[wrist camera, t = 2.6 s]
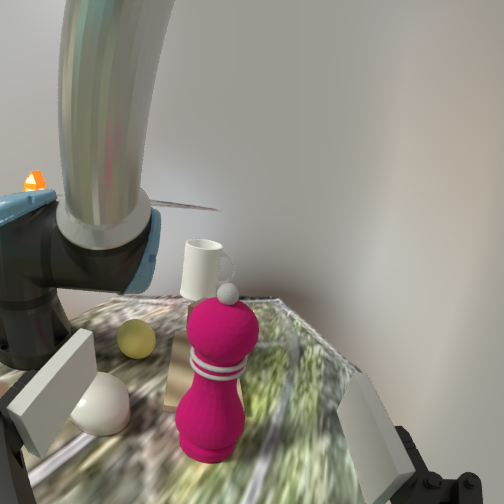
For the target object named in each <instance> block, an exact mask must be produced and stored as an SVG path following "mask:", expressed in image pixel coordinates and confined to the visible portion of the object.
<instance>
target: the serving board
mask: <svg viewBox="0 0 504 504" xmlns="http://www.w3.org/2000/svg"><path fill="white" fill-rule="evenodd" d="M191 347H192V345H191V344H190V342H189V340H188V337H187V332H181V331H175V333H174V339H173V345H172V351H171V357H170V364H169V371H168V377H167V385H166V392H165V399H164V411H167V412H175V413H176V409H177V406H178V404H179V402H180V400H181V399H182V397H183V396H184V395H185V394H186V392H187V391H188V390H189V389H190V387H191V386H192V383H193V378H194V369H193V368H192V367H191V364H190V356H191V353H190V351H191ZM237 392H238V395H239V398H240V400H241V403H242V406H243V409H244V413H245V408H244V402H243V397H242V391H241V385H240V379H239V377H238V379H237Z"/></svg>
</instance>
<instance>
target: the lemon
mask: <svg viewBox="0 0 504 504" xmlns="http://www.w3.org/2000/svg"><path fill="white" fill-rule="evenodd" d="M117 343H118V346H119V348H120V350H121V351H122V352H123V353H124V354H125V355H126V356H128V357H130V358H133V359H141V358H145V357H147V356H148V355H149V354H150V353H151V352H152V351H153V349H154V347H155V344H156V337H155V333H154V331H153V329H152V328H151V326H150V325H149V324H147V323H146V322H144V321H142V320H138V319H132V320H128V321H126V322H125V323H123V324H122V325H121V327H120V328H119V330H118V333H117Z"/></svg>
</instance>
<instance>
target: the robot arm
mask: <svg viewBox="0 0 504 504" xmlns="http://www.w3.org/2000/svg"><path fill="white" fill-rule="evenodd" d="M174 1H175V0H66V5H65V11H64V18H63V25H62V33H61V42H60V54H59V70H58V125H59V126H58V127H59V145H60V157H61V167H62V176H63V184H64V192H65V194H64V195H63V196H62V198H61V200H60V201H59V202H57V201H56V199H57V196H56V192H55V191H54V190H52V189H51V190H46V189H44V190H33V191H26V192H20V193H14V194H10V195H5V196H1V197H0V361H1V362H2V363H4V364H5V365H7V366H10V367H13V368H17V369H26V370H29V369H32V370H30V371H28V372H26V373H24V374H23V375H22V376H21V377H20V378H19V379H18V381H16V382H15V383H14V385H13V387H11V388H10V389H9V390H8V391H7V392H6V393H5V394H4V395H3V396H2V398H1V399H0V504H36V501H35V498H34V495H33V491H32V488H31V485H30V481H29V478H28V474H27V470H26V466H25V462H24V457H23V453H22V451H21V447H22V446H23V444H24V445H25V447H26V449H27V450H28V452H30V453H31V454H33V455H35V456H37V457H39V458H41V459H43V457H44V456H45V454H46V453H47V451H48V449H49V448H50V446H51V444H52V443H53V441H54V440H55V438H56V436H57V435H58V433H59V432H60V430H61V428H62V427H63V425H64V424H65V422H66V421H67V419H68V418H69V416H70V415H71V413H72V411H73V410H74V408H75V407H76V405H77V404H78V402H79V401H80V399H81V398H82V396H83V395H84V393H85V392H86V390H87V389H88V387H89V386H90V385H91V383H92V382H93V380H94V379H95V377H96V376H97V374H98V372H97V364H96V357H95V348H94V338H93V332H92V331H88V330H85V329H82V328H80V329H79V330H78V331H77V332H76V333H75V334H74V335H73V336H72V331H71V326H70V323H69V320H68V319H67V316H66V314H65V312H64V309H63V307H62V305H61V303H60V300H59V298H58V295H57V288H62V289H73V290H83V291H95V292H107V293H117V294H118V295H124V294H140V293H143V292H145V291H146V290H147V289H148V287H149V286H150V283H151V281H152V278H153V274H154V270H155V264H156V256H157V252H158V248H159V240H160V231H161V215H160V212H159V211H158V210H156V209H153V208H152V207H151V206H150V201H149V198H148V196H147V194H146V193H145V192H144V190H143V189H142V188H141V187H140V182H141V181H140V180H141V171H142V162H143V153H144V145H145V137H146V130H147V123H148V117H149V110H150V104H151V99H152V93H153V88H154V82H155V77H156V72H157V67H158V63H159V58H160V54H161V50H162V46H163V41H164V37H165V33H166V29H167V25H168V22H169V18H170V15H171V11H172V8H173V4H174ZM39 368H42V369H41V370H40V371H39V372H38V371H36V370H34V369H39ZM337 414H338V417H339V420H340V423H341V426H342V429H343V433H344V436H345V439H346V442H347V445H348V448H349V451H350V454H351V458H352V461H353V464H354V467H355V470H356V474H357V477H358V480H359V483H360V487H361V490H362V493H363V497H364V500H365V503H366V504H385V503H386V502H387V501H388V500H389V499H390V501H391V504H483V497H482V485H481V480H480V479H479V477H478V476H477V475H475V474H474V473H471V472H465V473H464V474H462V475H461V476H460V477H459V478H458V479H457V480H452V479H451V480H450V479H446V480H445V479H442V477H441V476H440V475H439V474H436V473H435V472H430V471H428V469H427V467H426V465H425V463H424V461H423V459H422V457H421V455H420V453H419V451H418V449H416V446H415V444H414V442H413V440H412V438H411V436H410V434H409V432H407V431H406V430H405V429H404V428H403V427H402V426H394V425H393V423H392V422H391V419H390V418H389V416H388V414H387V412H386V410H385V408H384V406H383V404H382V402H381V400H380V398H379V396H378V394H377V392H376V390H375V389H374V387H373V385H372V383H371V381H370V379H369V377H368V375H367V373H353V374H352V377H351V379H350V381H349V384H348V386H347V388H346V391H345V393H344V395H343V398H342V400H341V402H340V404H339V406H338V409H337Z"/></svg>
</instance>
